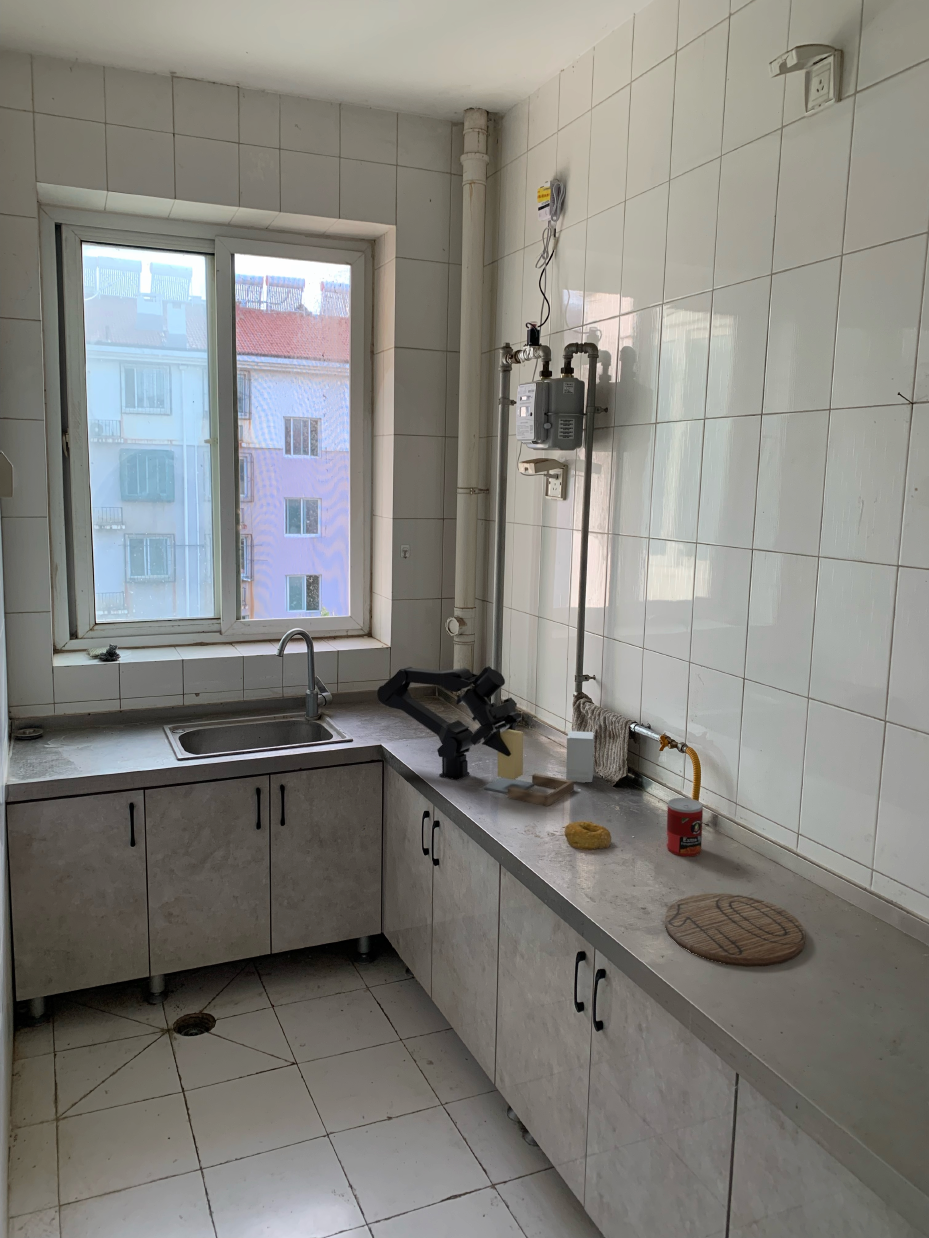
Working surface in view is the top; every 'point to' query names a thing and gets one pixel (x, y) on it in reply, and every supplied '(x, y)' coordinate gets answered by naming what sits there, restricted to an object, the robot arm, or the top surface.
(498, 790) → the slate mat
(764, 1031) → the top surface
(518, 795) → the frame
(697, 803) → the canned food
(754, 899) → the trivet
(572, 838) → the bagel
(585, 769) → the supplement box
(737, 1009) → the top surface
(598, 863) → the top surface
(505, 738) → the ochre block
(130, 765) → the top surface
